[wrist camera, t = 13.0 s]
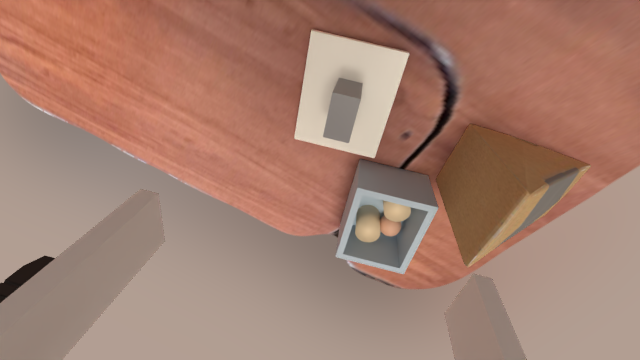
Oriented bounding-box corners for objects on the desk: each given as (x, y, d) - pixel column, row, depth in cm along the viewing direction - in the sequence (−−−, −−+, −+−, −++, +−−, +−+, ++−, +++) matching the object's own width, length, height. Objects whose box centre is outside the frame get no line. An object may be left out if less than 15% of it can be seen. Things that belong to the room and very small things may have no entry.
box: (359, 158, 38) (357, 187, 32) (428, 175, 38) (438, 207, 32) (340, 222, 44) (335, 256, 38) (399, 237, 44) (403, 274, 38)
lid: (314, 28, 31) (298, 36, 24) (407, 50, 31) (417, 64, 24) (297, 131, 38) (281, 161, 31) (374, 150, 37) (374, 184, 30)
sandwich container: (542, 218, 39) (626, 323, 26) (433, 180, 38) (464, 269, 26) (593, 164, 34) (725, 260, 21) (470, 121, 34) (529, 193, 21)
